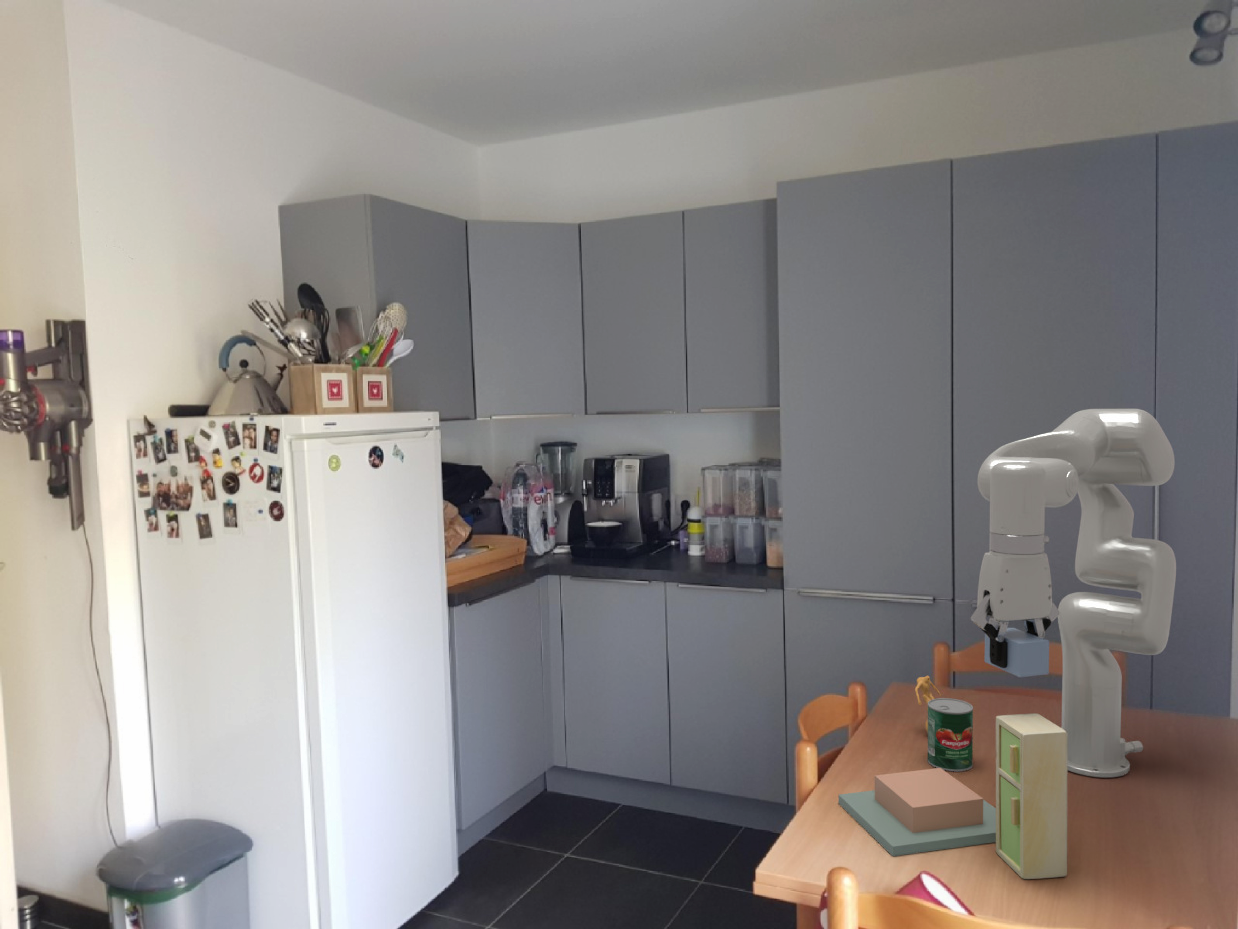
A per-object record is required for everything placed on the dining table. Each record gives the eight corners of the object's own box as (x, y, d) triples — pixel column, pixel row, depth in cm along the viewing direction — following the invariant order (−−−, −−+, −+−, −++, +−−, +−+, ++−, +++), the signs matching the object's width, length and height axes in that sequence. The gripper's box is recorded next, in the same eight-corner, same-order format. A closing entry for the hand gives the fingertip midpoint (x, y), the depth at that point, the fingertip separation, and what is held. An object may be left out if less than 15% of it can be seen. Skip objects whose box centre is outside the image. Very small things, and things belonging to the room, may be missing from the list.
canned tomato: (949, 751, 172) (950, 695, 171) (982, 766, 164) (983, 708, 164) (917, 759, 168) (918, 702, 167) (950, 775, 161) (950, 715, 160)
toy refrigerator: (989, 852, 134) (990, 715, 132) (1036, 849, 135) (1038, 712, 133) (1017, 881, 126) (1019, 735, 124) (1067, 877, 127) (1070, 732, 125)
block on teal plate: (956, 788, 156) (956, 757, 155) (1024, 838, 138) (1024, 803, 138) (838, 803, 151) (838, 771, 151) (892, 856, 133) (892, 820, 133)
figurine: (935, 745, 175) (935, 684, 174) (906, 737, 179) (906, 678, 178) (955, 733, 180) (955, 675, 180) (927, 726, 185) (927, 668, 184)
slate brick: (1012, 659, 140) (1012, 627, 140) (1048, 674, 133) (1049, 640, 132) (984, 661, 139) (984, 630, 139) (1019, 677, 131) (1019, 643, 131)
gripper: (1047, 537, 140) (1045, 652, 142) (951, 544, 136) (950, 662, 138) (1083, 545, 133) (1081, 665, 134) (982, 552, 129) (981, 676, 130)
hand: (1014, 662), depth 136 cm, fingers closed on slate brick, 4 cm apart
